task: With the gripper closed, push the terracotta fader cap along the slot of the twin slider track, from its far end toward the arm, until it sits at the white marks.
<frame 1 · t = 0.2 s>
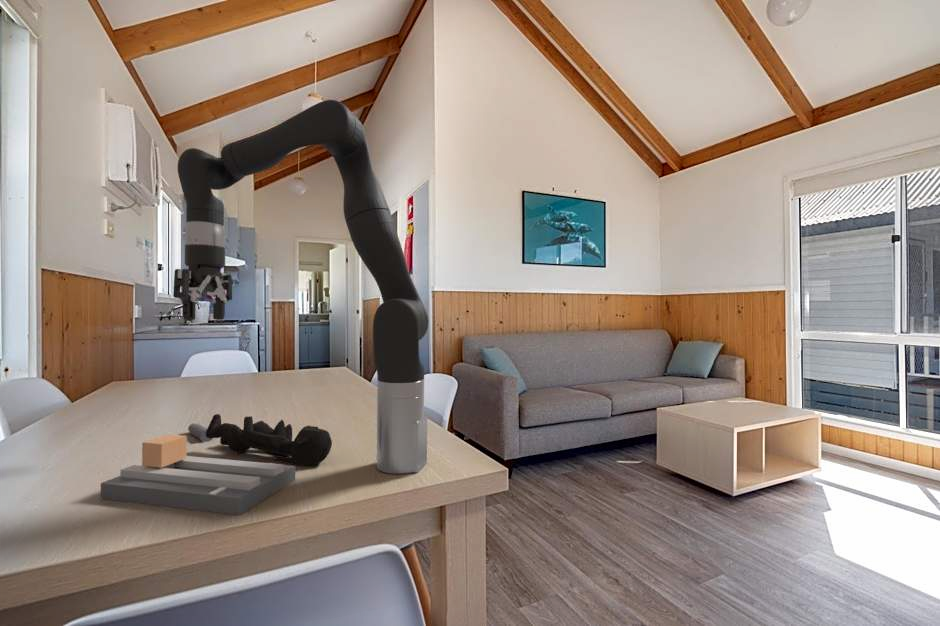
hand: (204, 319, 94), 29 cm above the table, tool pointing down, fingers open, 8 cm apart
figurine: (271, 457, 92), on the table
twin slider track: (203, 488, 74), on the table
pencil: (199, 438, 105), on the table
fader: (165, 453, 76), point 5 cm above the table, slide at 8.0 cm
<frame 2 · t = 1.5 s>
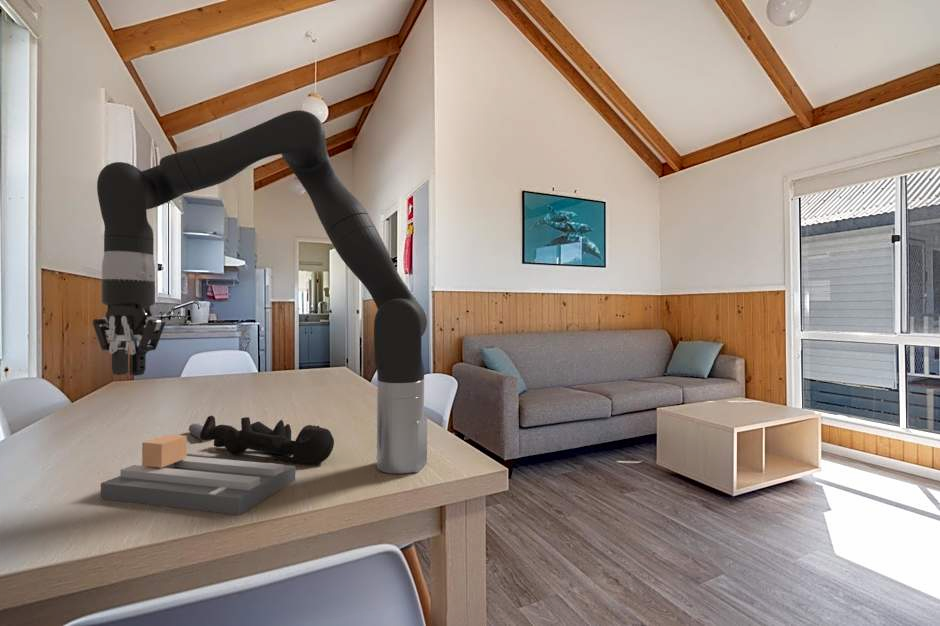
hand: (128, 374, 78), 19 cm above the table, tool pointing down, fingers open, 3 cm apart
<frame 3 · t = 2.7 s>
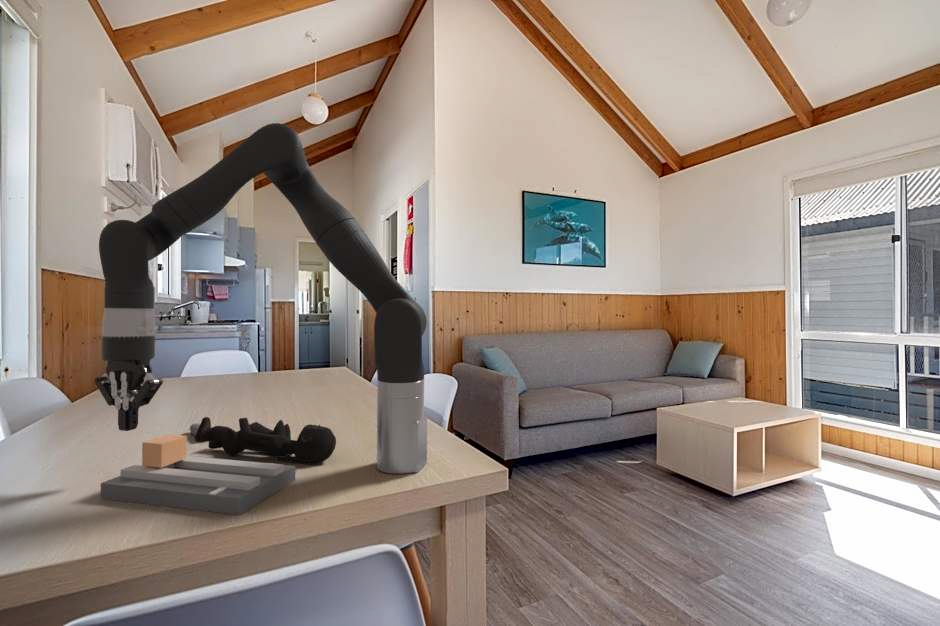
hand: (127, 429, 78), 9 cm above the table, tool pointing down, fingers closed
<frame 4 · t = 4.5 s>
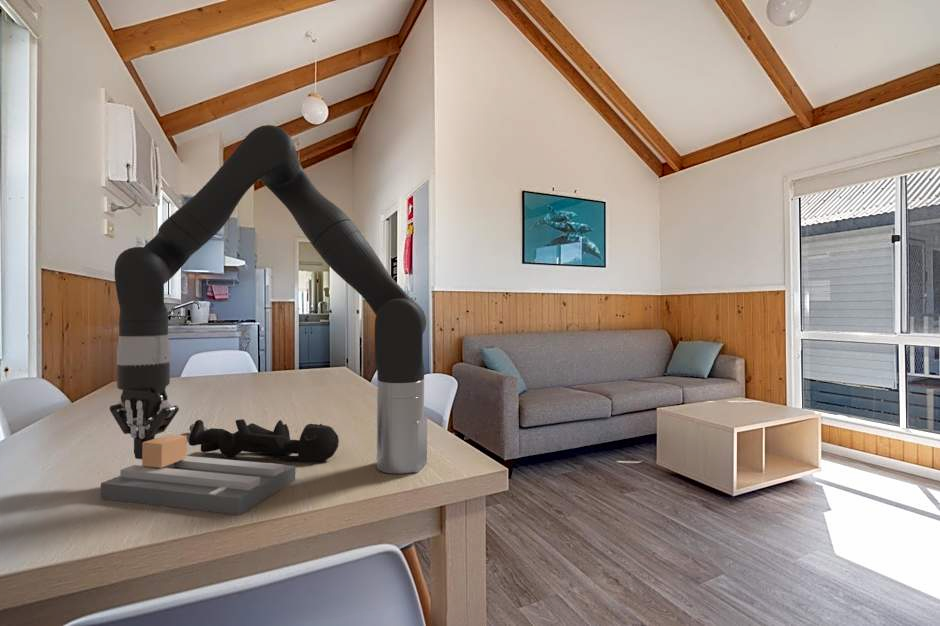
hand: (143, 457, 77), 4 cm above the table, tool pointing down, fingers closed
fader: (165, 453, 76), point 5 cm above the table, slide at 8.0 cm, touching gripper
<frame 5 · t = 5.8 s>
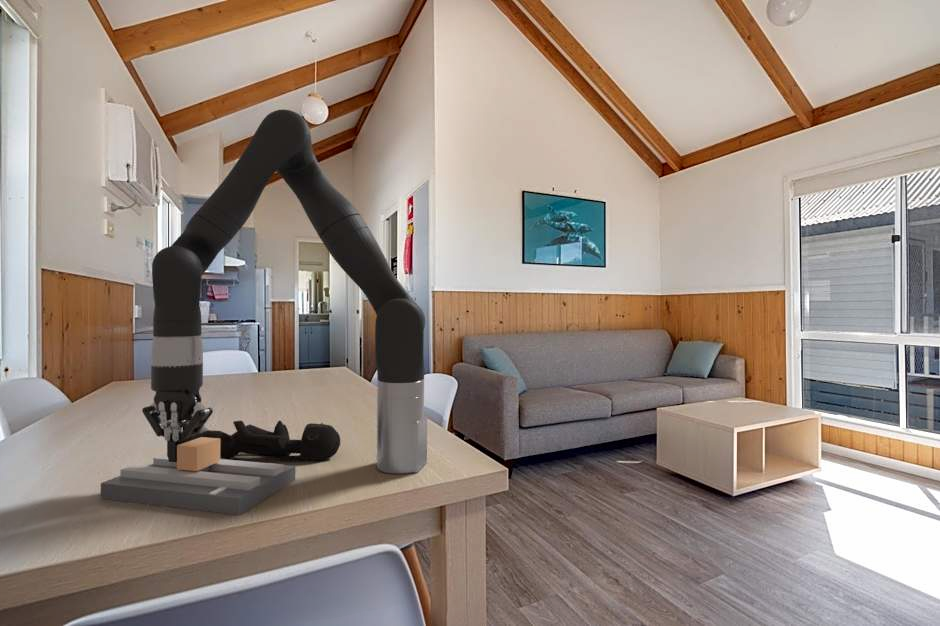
hand: (177, 460, 76), 4 cm above the table, tool pointing down, fingers closed
fader: (199, 456, 75), point 5 cm above the table, slide at 0.9 cm, touching gripper
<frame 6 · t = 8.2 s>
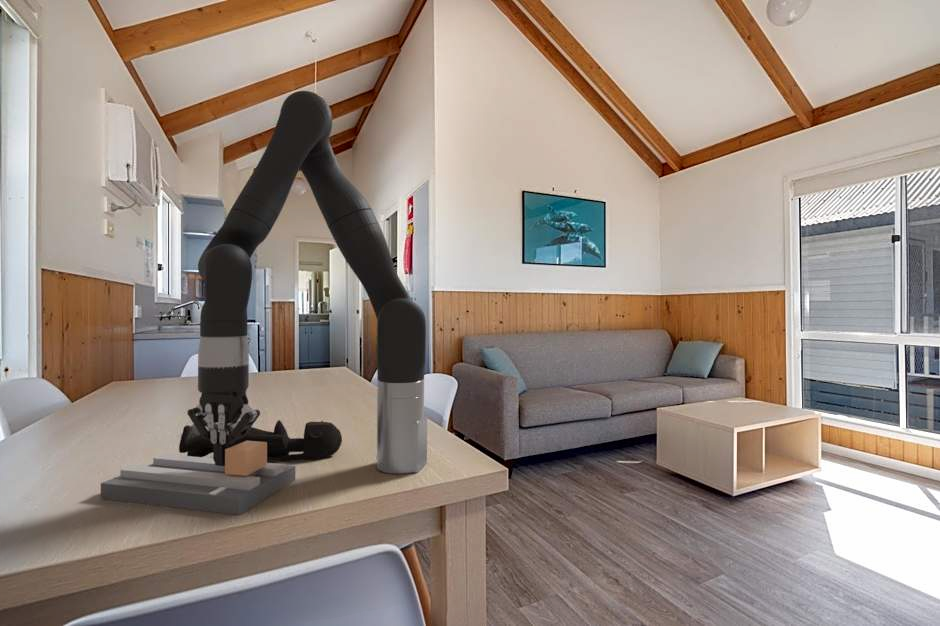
hand: (223, 464, 74), 4 cm above the table, tool pointing down, fingers closed
fader: (246, 461, 73), point 5 cm above the table, slide at -8.5 cm, touching gripper
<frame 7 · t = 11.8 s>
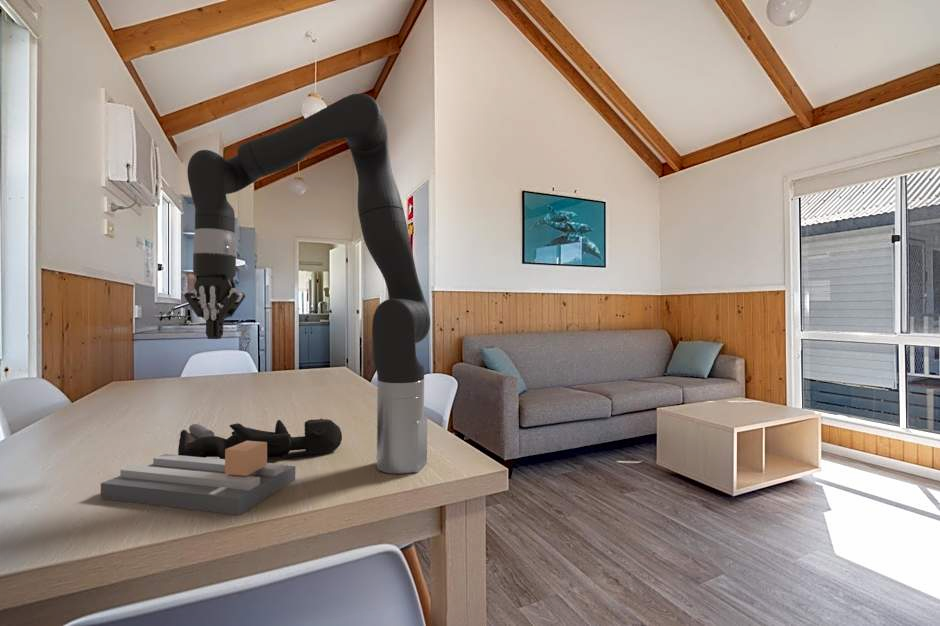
hand: (214, 338, 88), 25 cm above the table, tool pointing down, fingers closed
fader: (246, 461, 73), point 5 cm above the table, slide at -8.5 cm
at the end: fader slide at -8.5 cm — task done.
